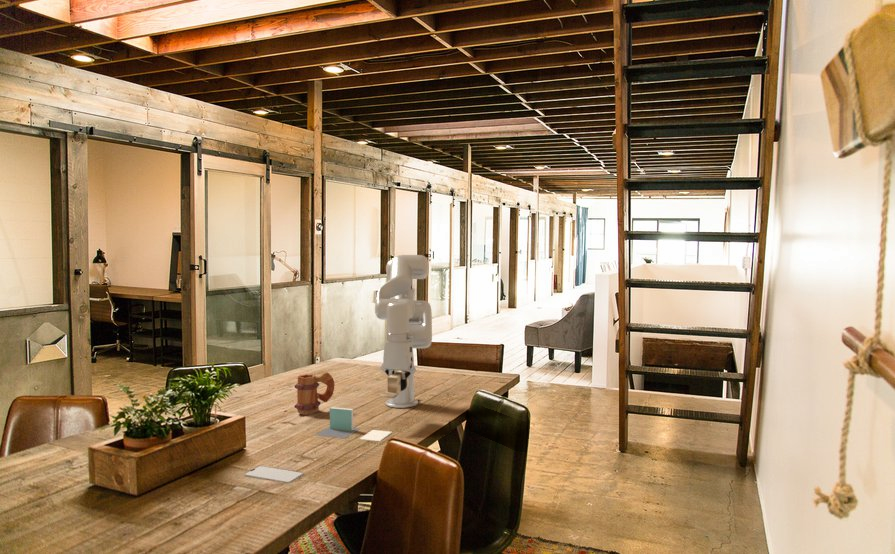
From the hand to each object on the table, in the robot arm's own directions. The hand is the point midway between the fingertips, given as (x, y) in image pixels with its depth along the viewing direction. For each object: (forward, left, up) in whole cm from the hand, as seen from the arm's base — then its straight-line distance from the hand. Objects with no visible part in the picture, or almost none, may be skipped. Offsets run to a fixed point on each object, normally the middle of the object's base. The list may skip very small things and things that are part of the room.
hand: (398, 388), depth 214 cm
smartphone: (+56, -14, -13) cm, 59 cm away
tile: (+15, -15, -12) cm, 24 cm away
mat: (+17, -15, -12) cm, 26 cm away
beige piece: (+2, 0, -1) cm, 2 cm away
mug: (-2, -35, -12) cm, 37 cm away
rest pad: (+18, -1, -12) cm, 21 cm away
